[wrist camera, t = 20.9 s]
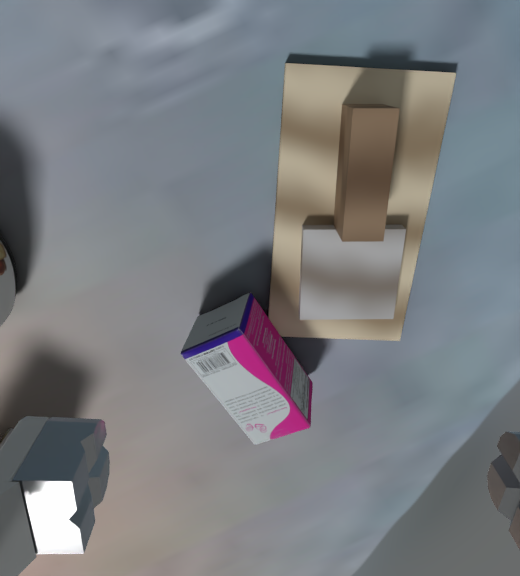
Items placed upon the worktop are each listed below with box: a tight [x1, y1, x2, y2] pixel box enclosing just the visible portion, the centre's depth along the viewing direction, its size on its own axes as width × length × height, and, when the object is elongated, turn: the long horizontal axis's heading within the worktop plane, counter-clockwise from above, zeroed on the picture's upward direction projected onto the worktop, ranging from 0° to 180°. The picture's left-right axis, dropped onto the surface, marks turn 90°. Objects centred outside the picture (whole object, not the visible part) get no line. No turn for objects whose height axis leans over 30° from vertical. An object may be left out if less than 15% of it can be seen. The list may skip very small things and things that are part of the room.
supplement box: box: [181, 293, 312, 445], centre depth 40 cm, size 6×6×12 cm
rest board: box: [268, 63, 456, 341], centre depth 37 cm, size 22×12×1 cm, turn 177°
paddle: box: [298, 104, 406, 320], centre depth 35 cm, size 17×8×4 cm, turn 0°
